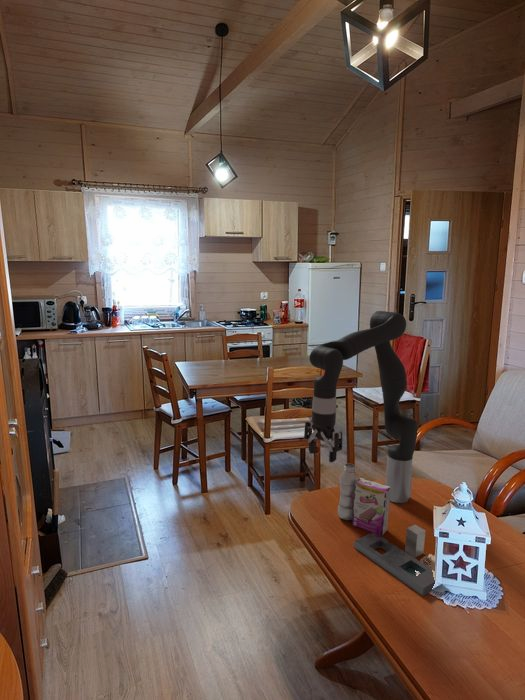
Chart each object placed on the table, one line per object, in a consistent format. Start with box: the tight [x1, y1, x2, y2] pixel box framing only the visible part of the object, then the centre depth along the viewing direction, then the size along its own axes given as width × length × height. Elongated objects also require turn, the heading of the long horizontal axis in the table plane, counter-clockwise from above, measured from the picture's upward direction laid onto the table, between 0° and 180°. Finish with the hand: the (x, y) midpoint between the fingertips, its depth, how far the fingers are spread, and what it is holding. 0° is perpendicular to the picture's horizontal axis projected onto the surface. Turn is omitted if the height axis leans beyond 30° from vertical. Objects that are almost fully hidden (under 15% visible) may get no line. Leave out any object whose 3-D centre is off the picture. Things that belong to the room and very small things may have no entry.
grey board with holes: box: [353, 532, 435, 597], centre depth 139 cm, size 9×26×2 cm, turn 34°
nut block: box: [404, 524, 427, 559], centre depth 145 cm, size 4×4×8 cm
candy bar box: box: [351, 477, 391, 537], centre depth 157 cm, size 11×5×16 cm, turn 56°
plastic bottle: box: [337, 463, 359, 521], centre depth 163 cm, size 6×7×20 cm
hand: (322, 457), depth 149 cm, fingers open, 8 cm apart
